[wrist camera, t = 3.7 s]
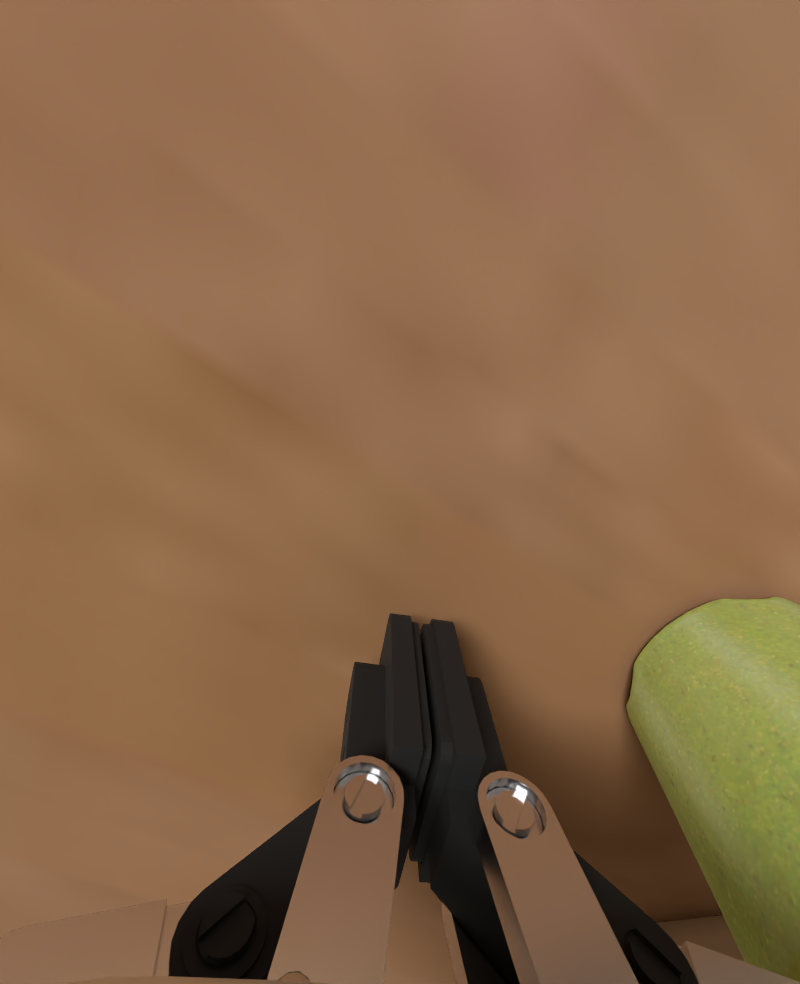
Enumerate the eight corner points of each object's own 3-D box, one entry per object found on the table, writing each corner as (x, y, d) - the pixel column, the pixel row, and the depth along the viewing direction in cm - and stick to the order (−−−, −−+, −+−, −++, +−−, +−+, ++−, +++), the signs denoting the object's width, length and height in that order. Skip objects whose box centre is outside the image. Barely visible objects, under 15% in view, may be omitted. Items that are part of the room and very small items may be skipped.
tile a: (621, 911, 17) (649, 980, 16) (770, 896, 17) (817, 963, 15) (615, 997, 19) (639, 1067, 17) (749, 983, 19) (788, 1053, 17)
